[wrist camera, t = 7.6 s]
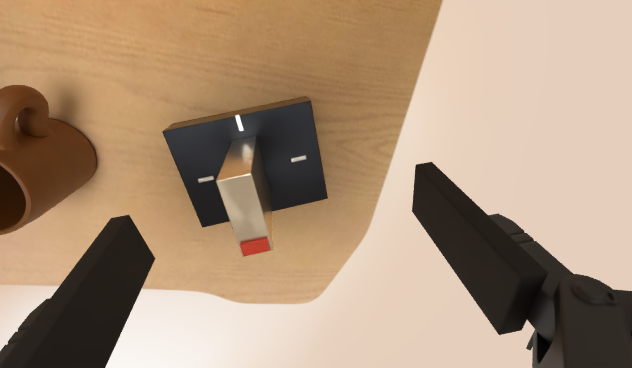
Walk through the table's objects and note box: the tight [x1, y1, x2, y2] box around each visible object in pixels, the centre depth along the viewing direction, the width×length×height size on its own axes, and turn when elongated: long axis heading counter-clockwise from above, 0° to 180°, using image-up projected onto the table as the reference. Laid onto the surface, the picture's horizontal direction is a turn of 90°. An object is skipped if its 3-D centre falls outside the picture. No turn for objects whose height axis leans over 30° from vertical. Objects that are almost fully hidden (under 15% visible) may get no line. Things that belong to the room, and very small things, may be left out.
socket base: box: [163, 97, 328, 227], centre depth 28 cm, size 13×10×3 cm
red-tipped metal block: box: [216, 136, 273, 256], centre depth 23 cm, size 6×2×9 cm, turn 9°
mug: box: [0, 85, 96, 235], centre depth 22 cm, size 11×7×9 cm, turn 149°
